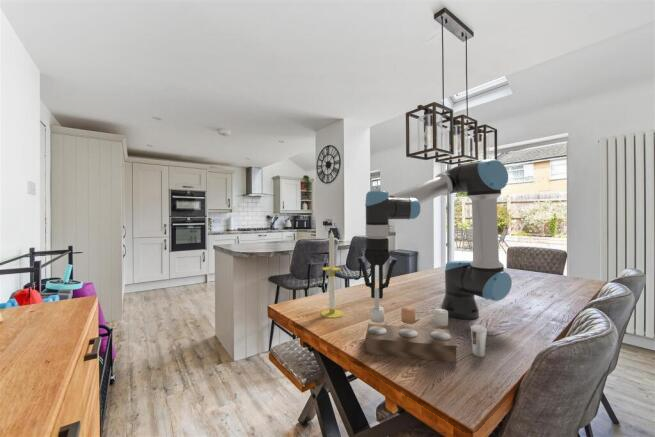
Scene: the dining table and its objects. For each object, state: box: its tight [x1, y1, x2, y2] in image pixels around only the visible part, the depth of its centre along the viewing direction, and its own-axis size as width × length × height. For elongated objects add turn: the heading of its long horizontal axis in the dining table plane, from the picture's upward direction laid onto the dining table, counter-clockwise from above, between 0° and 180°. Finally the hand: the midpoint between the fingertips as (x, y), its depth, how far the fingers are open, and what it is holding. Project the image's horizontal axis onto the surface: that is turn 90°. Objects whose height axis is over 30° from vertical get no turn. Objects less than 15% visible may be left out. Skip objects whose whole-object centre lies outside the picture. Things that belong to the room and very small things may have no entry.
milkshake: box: [468, 323, 488, 358], centre depth 90 cm, size 4×5×10 cm
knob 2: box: [432, 308, 449, 327], centre depth 92 cm, size 4×4×4 cm
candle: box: [320, 229, 344, 319], centre depth 126 cm, size 10×10×38 cm
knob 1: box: [370, 305, 385, 324], centre depth 96 cm, size 4×4×4 cm
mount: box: [364, 323, 457, 364], centre depth 94 cm, size 27×12×5 cm, turn 77°
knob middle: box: [400, 306, 416, 325], centre depth 94 cm, size 4×4×4 cm
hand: (377, 307), depth 96 cm, fingers closed
